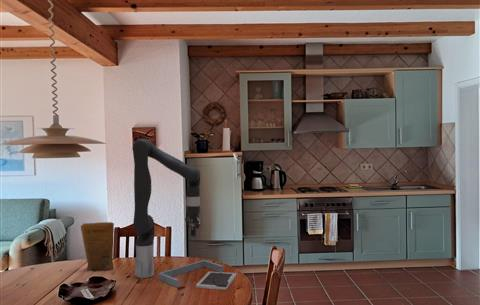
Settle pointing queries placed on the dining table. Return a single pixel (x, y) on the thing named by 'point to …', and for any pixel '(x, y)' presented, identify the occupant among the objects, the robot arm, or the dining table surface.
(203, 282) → the picture frame
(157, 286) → the dining table surface
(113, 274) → the dining table surface
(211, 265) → the open-front box
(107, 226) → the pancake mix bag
